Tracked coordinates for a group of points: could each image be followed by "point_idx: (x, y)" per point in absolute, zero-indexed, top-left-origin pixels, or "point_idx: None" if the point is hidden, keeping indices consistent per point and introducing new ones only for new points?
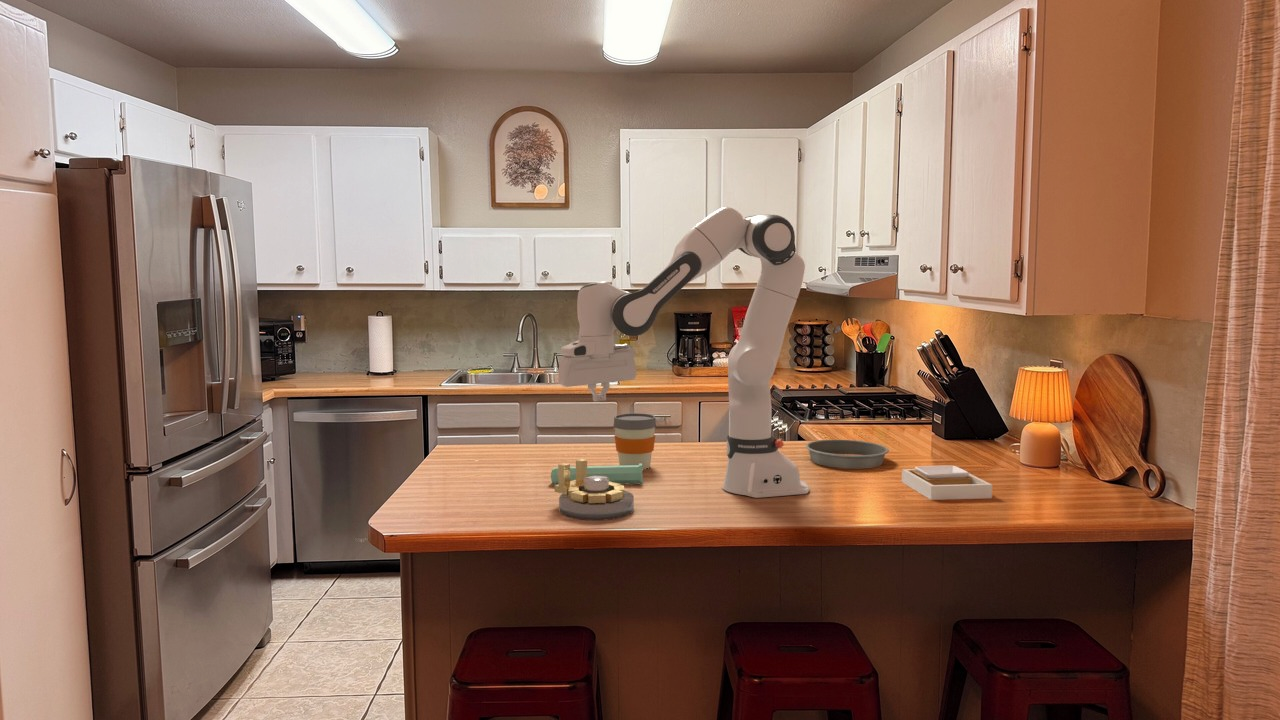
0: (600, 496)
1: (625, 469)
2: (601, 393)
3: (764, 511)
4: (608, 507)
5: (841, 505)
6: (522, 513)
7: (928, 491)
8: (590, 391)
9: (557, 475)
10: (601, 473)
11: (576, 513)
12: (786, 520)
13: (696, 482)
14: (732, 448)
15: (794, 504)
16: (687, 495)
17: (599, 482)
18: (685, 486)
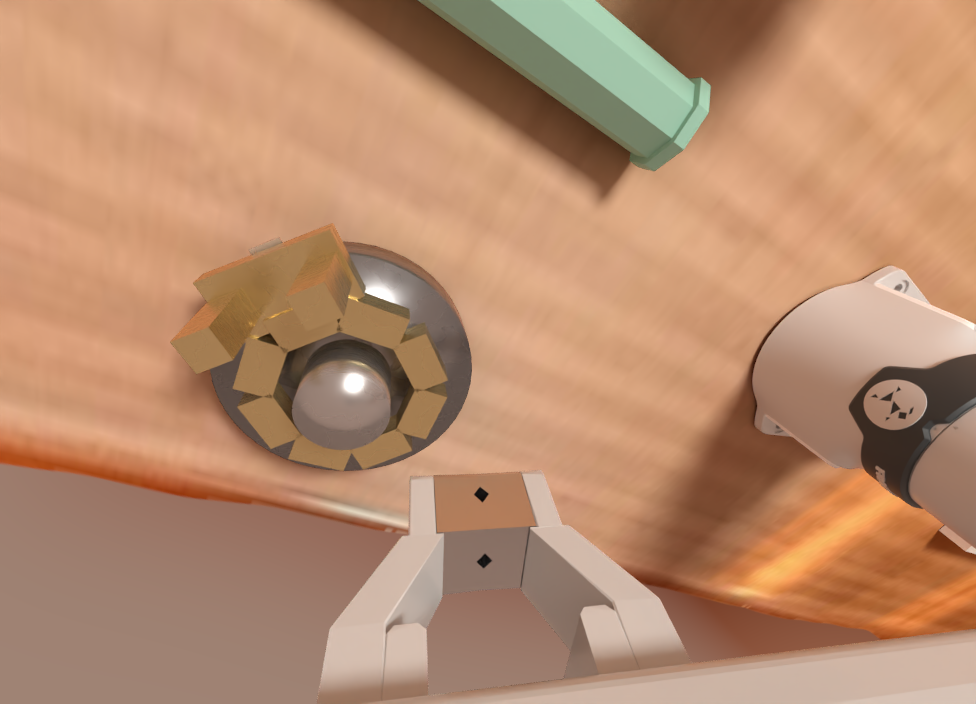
0: (327, 465)
1: (616, 112)
2: (528, 542)
3: (686, 501)
4: (346, 468)
5: (818, 512)
6: (77, 298)
7: None
8: (373, 577)
9: None
10: (514, 59)
11: None
12: (670, 550)
13: (788, 221)
14: (874, 440)
15: (769, 483)
16: (657, 339)
17: (338, 448)
18: (726, 249)
